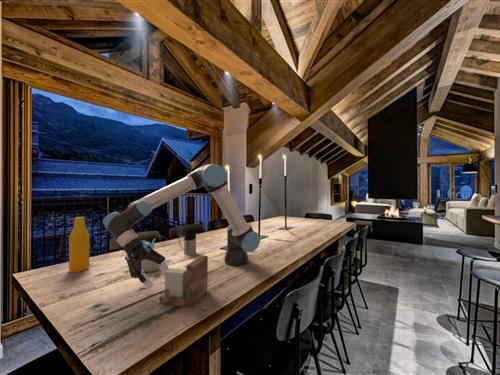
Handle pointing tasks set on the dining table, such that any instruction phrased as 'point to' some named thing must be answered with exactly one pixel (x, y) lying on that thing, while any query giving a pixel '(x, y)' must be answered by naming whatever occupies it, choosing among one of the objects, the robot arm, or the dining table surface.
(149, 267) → the teacup
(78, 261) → the beer bottle
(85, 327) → the dining table surface
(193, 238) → the glass holder
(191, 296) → the wooden stand
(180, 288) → the block
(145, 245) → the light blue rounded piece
